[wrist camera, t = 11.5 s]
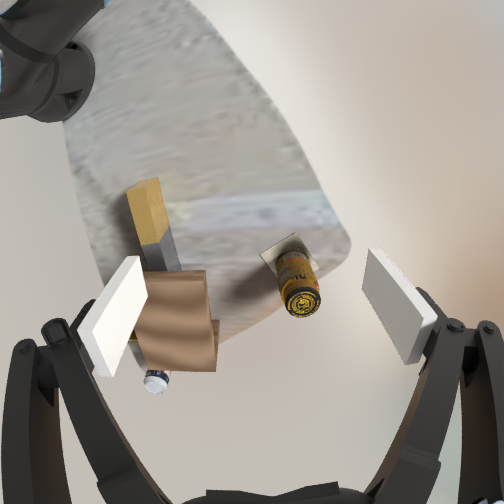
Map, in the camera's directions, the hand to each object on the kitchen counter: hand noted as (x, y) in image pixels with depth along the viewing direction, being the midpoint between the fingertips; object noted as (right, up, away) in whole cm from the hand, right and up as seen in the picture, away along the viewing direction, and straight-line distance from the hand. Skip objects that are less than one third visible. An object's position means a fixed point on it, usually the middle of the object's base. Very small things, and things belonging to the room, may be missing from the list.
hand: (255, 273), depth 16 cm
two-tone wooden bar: (-15, +1, +34) cm, 37 cm away
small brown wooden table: (-13, -6, +38) cm, 40 cm away
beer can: (-19, -19, +44) cm, 52 cm away
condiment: (+7, 0, +36) cm, 36 cm away
